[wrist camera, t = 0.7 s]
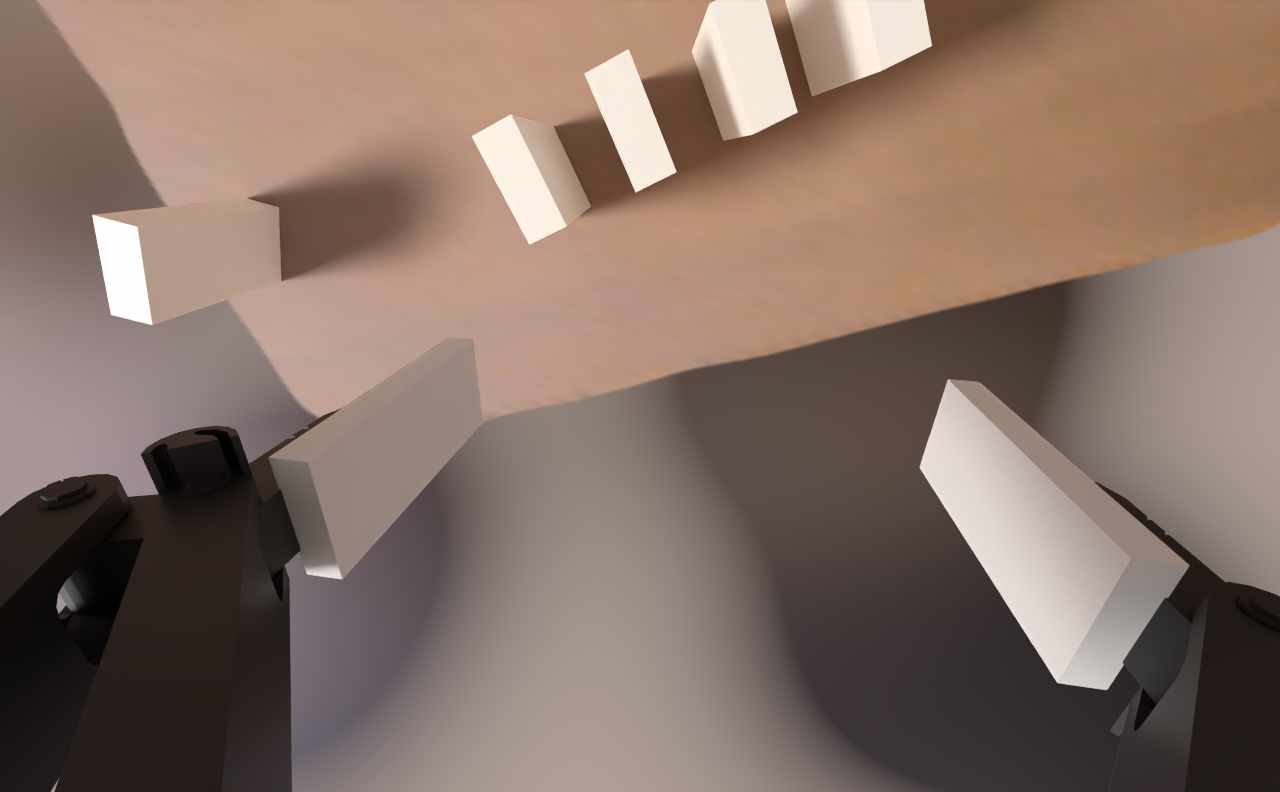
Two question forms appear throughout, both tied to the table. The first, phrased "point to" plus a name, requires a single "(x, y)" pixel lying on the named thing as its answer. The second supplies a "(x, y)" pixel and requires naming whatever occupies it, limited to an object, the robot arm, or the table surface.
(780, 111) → the tile
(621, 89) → the tile
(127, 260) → the tile
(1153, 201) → the table surface
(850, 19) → the tile
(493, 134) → the tile
